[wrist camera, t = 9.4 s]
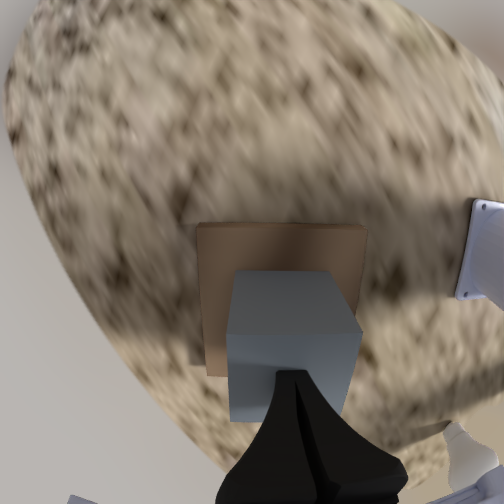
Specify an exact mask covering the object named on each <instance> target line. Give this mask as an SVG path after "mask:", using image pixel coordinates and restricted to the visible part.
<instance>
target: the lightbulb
mask: <svg viewBox="0 0 504 504" xmlns="http://www.w3.org/2000/svg"><path fill="white" fill-rule="evenodd" d="M443 436H444V439H445V441H446V443H447V450H448V452H449V457H450V467H449V475H448V480H449V485H450V487H451V489H452V490H453V491H454V492H457V491H459V490H461V489H463V488H466V487H468V486H470V485H472V484H474V483H476V481H477V480H478V479H479V478H480V477H481V476H482V475H484V474H485V473H487V472H488V471H490V470H492V469H494V468H496V467H498V465H499V462H498V457H497V454H496V453H495V451H494V450H493V449H492V448H490V447H488V446H486V445H483V444H480V443H479V442H477V441H475V440H474V439H473V438H472V437H471V435H470V434H469V432H466V431H465V429H464V428H463V426H462V425H461V424H460V422H454V423H453V422H451V423H449V424H448V425H447V426H446V428H445V430H444V431H443Z"/></svg>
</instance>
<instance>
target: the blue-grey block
mask: <svg viewBox="0 0 504 504" xmlns="http://www.w3.org/2000/svg"><path fill="white" fill-rule="evenodd" d="M362 335H363V331H362V330H361V328H360V326H359V324H358V322H357V320H356V318H355V316H354V315H353V313H352V311H351V309H350V307H349V305H348V304H347V302H346V300H345V298H344V296H343V295H342V293H341V291H340V289H339V288H338V286H337V284H336V282H335V280H334V279H333V277H332V275H331V273H330V272H329V271H252V270H236V271H235V277H234V284H233V291H232V298H231V304H230V311H229V318H228V325H227V332H226V342H227V367H228V389H229V408H230V422H263V421H264V419H265V416H266V414H267V411H268V409H269V406H270V403H271V400H272V396H273V393H274V389H275V376H276V372H277V371H278V370H307V371H308V373H309V374H310V376H311V378H312V380H313V381H314V383H315V384H316V386H317V387H318V389H319V390H320V392H321V393H322V395H323V396H324V397H325V399H326V400H327V401H328V403H329V404H330V405H331V407H332V408H333V409H334V410H335V411H336V412H337V414H338V415H339V416H340V414H341V411H342V408H343V405H344V402H345V398H346V395H347V392H348V388H349V385H350V381H351V378H352V374H353V371H354V367H355V363H356V359H357V355H358V351H359V347H360V343H361V339H362Z"/></svg>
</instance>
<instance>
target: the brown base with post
mask: <svg viewBox="0 0 504 504" xmlns="http://www.w3.org/2000/svg"><path fill="white" fill-rule="evenodd" d="M367 233H368V230H367V229H365V228H364V227H363V226H362V225H337V224H297V223H199V224H198V226H197V227H196V238H197V258H198V275H199V290H200V304H201V316H202V328H203V340H204V350H205V360H206V370H207V376H218V377H228V367H227V342H226V332H227V325H228V318H229V311H230V304H231V298H232V291H233V284H234V277H235V271H236V270H252V271H329V272H330V273H331V275H332V277H333V279H334V280H335V282H336V284H337V286H338V288H339V289H340V291H341V293H342V295H343V296H344V298H345V300H346V302H347V304H348V305H349V307H350V309H351V311H352V313H353V315H354V316H355V314H356V308H357V303H358V297H359V291H360V285H361V278H362V272H363V265H364V258H365V250H366V242H367Z"/></svg>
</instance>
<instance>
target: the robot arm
mask: <svg viewBox="0 0 504 504" xmlns="http://www.w3.org/2000/svg"><path fill="white" fill-rule="evenodd" d="M482 205H483V208H482ZM465 292H466V293H465ZM464 293H465V294H464ZM455 298H456V299H457V300H470V299H480V298H488V299H489V300H491V301H492V302H493V303H494V304H496V305H497V306H498V307H499V308H500V309H502V310H503V311H504V203H501V202H495V201H489V200H483V199H476V200H475V201H474V202H473V207H472V214H471V221H470V227H469V233H468V239H467V244H466V249H465V254H464V259H463V263H462V268H461V272H460V276H459V280H458V284H457V288H456V292H455ZM407 481H408V475H407V472H406V470H405V468H404V466H403V464H402V463H401V461H400V459H398V458H396V457H394V456H392V455H390V454H388V453H386V452H384V451H383V450H381V449H379V448H378V447H376V446H374V445H373V444H372V443H370V442H369V441H367V440H366V439H365V438H363V437H362V436H361V435H359V434H358V433H357V432H356V431H355V430H354V429H352V428H351V427H350V426H349V425H348V424H347V423H346V422H345V421H344V420H343V419H342V418H341V417H340V416H339V415H338V414H337V412H336V411H335V410H334V409H333V408H332V407H331V405H330V404H329V403H328V401H327V400H326V399H325V397H324V396H323V395H322V393H321V392H320V390H319V389H318V387H317V386H316V384H315V383H314V381H313V380H312V378H311V376H310V374H309V373H308V371H307V370H278V371H277V372H276V376H275V389H274V393H273V396H272V400H271V403H270V406H269V409H268V411H267V414H266V416H265V419H264V421H263V423H262V425H261V427H260V429H259V431H258V433H257V434H256V436H255V438H254V440H253V441H252V443H251V444H250V446H249V448H248V449H247V450H246V452H245V453H244V454H243V456H242V457H241V459H240V460H239V461H238V462H237V464H236V465H235V466H234V467H233V468H232V469H231V470H230V471H229V473H228V474H227V475H226V477H225V479H224V481H223V483H222V485H221V487H220V489H219V491H218V493H217V496H216V500H215V504H397V503H398V502H399V499H398V495H397V494H398V493H399V492H400V491H401V489H402V488H403V487H404V486H405V484H406V483H407ZM67 504H97V503H95V502H92V501H89V500H86V499H83V498H81V497H78V496H75V495H70V498H69V501H68V503H67ZM427 504H504V467H503V465H499V466H498V467H496V468H494V469H492V470H490V471H488V472H487V473H485V474H484V475H482V476H481V477H480V478H479V479H478V480H477V481H476V483H474V484H472V485H470V486H468V487H466V488H463V489H461V490H459V491H457V492H454V493H452V494H450V495H447V496H445V497H442V498H440V499H437V500H435V501H432V502H429V503H427Z"/></svg>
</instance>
